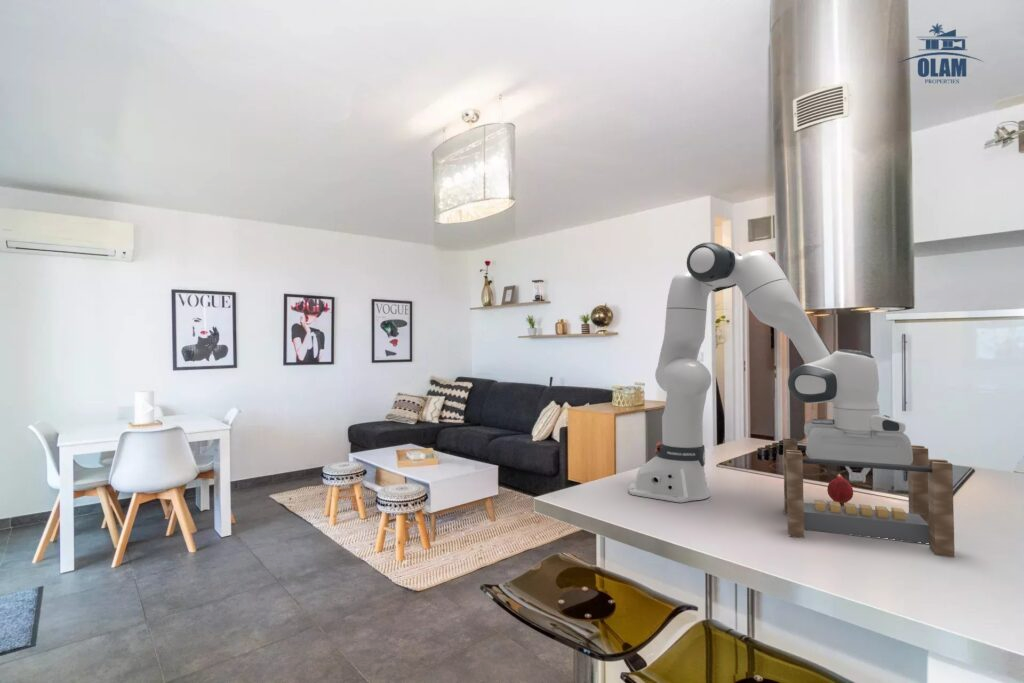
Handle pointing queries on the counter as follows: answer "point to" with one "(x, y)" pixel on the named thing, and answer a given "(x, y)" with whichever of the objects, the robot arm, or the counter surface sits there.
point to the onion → (840, 490)
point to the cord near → (868, 465)
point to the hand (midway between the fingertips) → (857, 481)
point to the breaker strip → (865, 521)
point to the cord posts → (924, 491)
